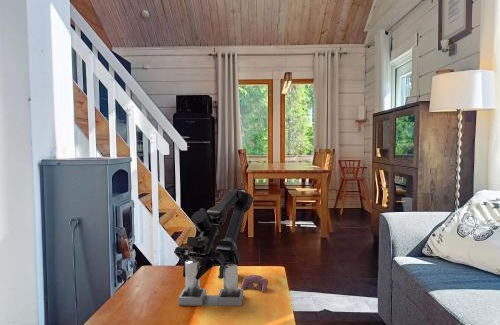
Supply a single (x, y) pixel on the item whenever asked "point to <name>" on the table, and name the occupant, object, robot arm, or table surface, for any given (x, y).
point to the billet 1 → (192, 278)
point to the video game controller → (257, 279)
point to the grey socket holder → (211, 299)
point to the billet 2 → (230, 280)
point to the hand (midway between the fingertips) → (190, 278)
